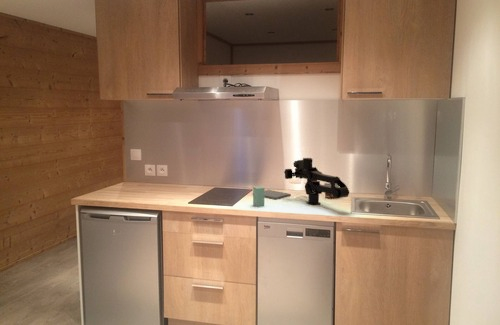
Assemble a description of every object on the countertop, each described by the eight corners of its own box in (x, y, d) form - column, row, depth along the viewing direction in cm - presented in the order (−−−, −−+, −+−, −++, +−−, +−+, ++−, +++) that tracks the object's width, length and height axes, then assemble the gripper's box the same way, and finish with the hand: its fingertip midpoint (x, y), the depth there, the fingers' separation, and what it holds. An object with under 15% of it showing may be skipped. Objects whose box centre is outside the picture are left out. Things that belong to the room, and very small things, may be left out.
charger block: (264, 206, 227) (264, 188, 226) (256, 206, 225) (257, 188, 224) (260, 204, 232) (260, 186, 230) (253, 205, 230) (253, 187, 228)
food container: (330, 199, 245) (331, 184, 244) (323, 198, 250) (324, 183, 249) (343, 197, 252) (343, 182, 251) (336, 195, 257) (336, 181, 256)
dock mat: (290, 195, 256) (290, 193, 255) (275, 199, 244) (275, 197, 244) (267, 191, 269) (267, 189, 269) (252, 195, 257) (252, 192, 257)
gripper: (315, 160, 244) (300, 158, 258) (292, 162, 235) (278, 160, 248) (316, 177, 245) (301, 174, 259) (292, 180, 236) (278, 177, 250)
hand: (289, 171), depth 254 cm, fingers open, 9 cm apart
